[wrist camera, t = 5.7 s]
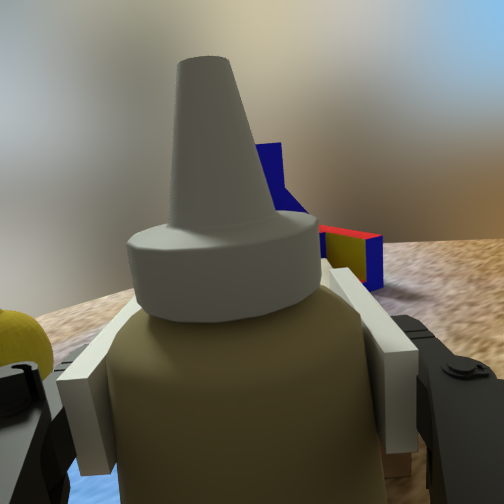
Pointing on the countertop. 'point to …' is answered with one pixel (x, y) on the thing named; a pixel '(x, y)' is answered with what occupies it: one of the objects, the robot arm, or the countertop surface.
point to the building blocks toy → (327, 227)
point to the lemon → (24, 342)
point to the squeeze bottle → (236, 335)
